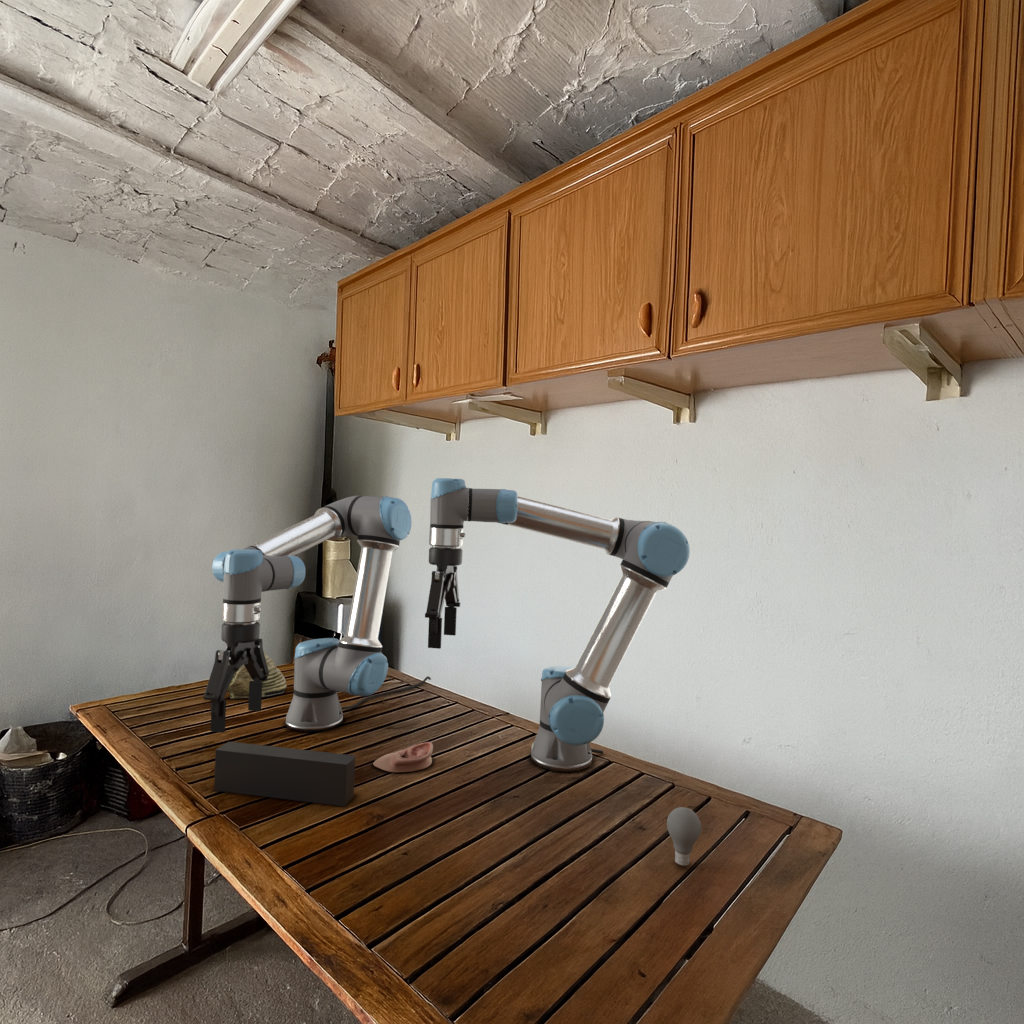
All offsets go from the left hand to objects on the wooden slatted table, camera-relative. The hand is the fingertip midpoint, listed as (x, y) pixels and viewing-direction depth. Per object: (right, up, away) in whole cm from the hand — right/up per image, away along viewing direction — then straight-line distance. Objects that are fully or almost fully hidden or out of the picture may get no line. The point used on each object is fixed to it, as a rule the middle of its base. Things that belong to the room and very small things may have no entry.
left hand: (237, 720), depth 136 cm
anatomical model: (+33, -16, +16) cm, 40 cm away
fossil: (-22, -13, +62) cm, 67 cm away
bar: (+11, -15, -1) cm, 18 cm away
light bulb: (+90, -19, -22) cm, 94 cm away
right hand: (+43, +16, +7) cm, 47 cm away
